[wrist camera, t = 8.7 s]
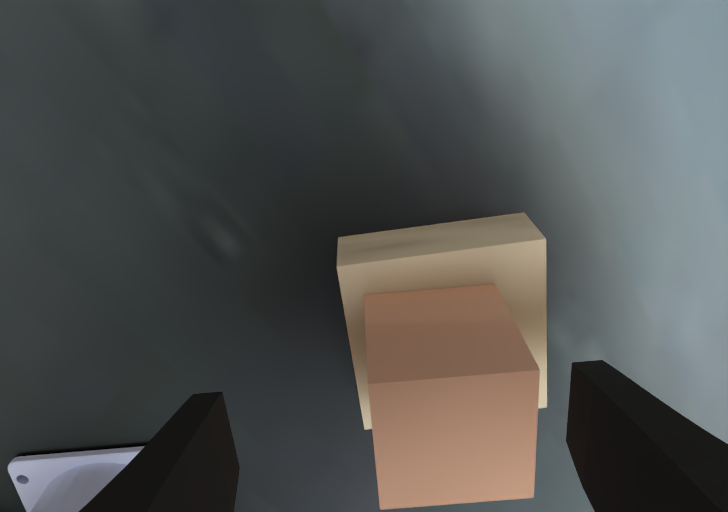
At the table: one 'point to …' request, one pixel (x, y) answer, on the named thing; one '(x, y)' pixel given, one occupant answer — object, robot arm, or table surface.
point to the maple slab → (447, 276)
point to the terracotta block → (450, 397)
